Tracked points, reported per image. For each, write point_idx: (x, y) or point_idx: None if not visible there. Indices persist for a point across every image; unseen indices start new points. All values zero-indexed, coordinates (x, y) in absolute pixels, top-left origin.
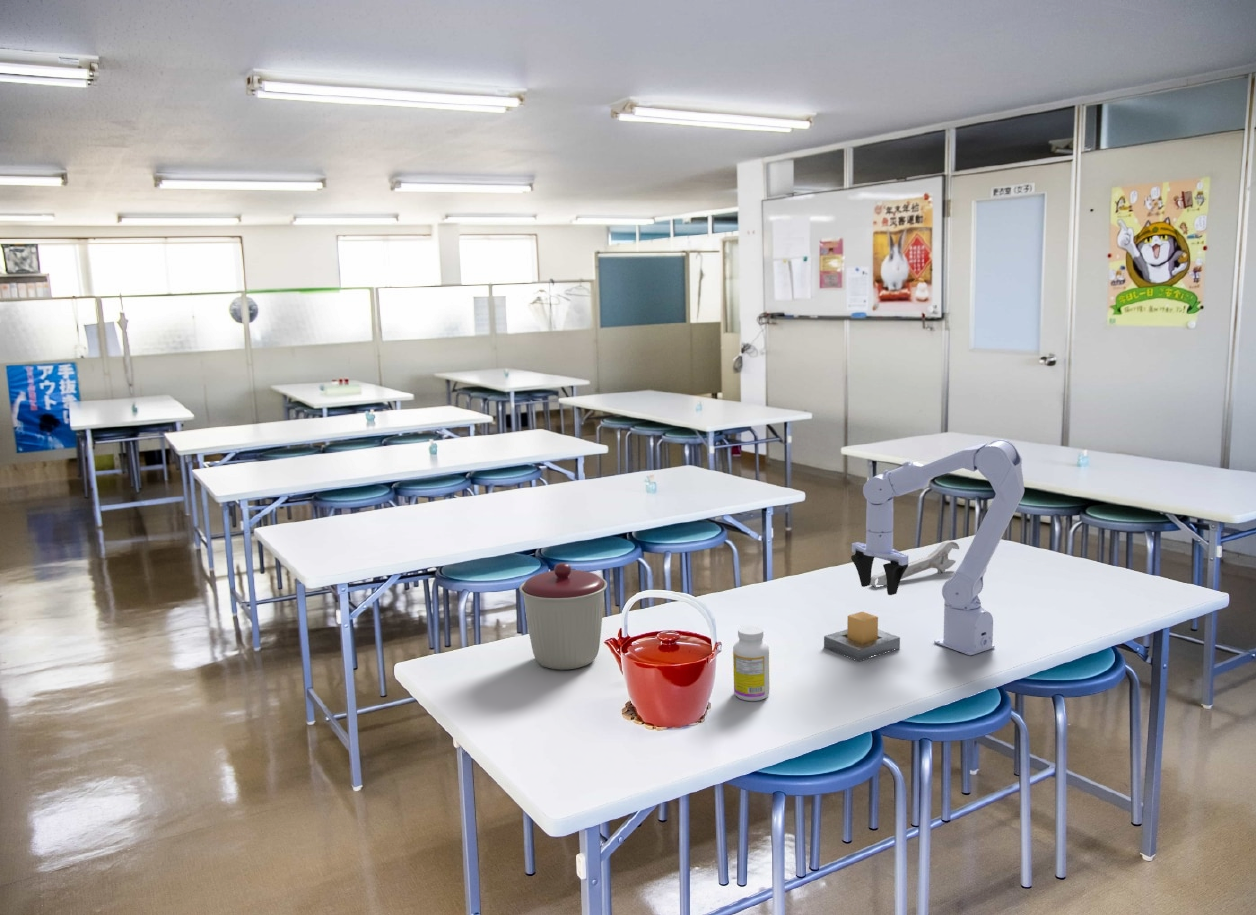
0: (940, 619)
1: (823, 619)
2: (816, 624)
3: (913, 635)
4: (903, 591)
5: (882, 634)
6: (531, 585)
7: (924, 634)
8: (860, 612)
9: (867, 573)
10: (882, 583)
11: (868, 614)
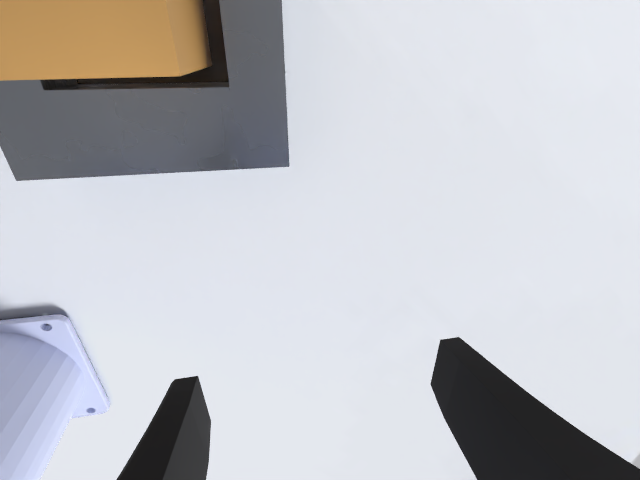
0: (262, 427)
1: (527, 144)
2: (521, 69)
3: (182, 303)
4: None
5: (100, 131)
6: None
7: (173, 336)
8: (162, 36)
9: (492, 462)
10: None
11: (73, 57)
